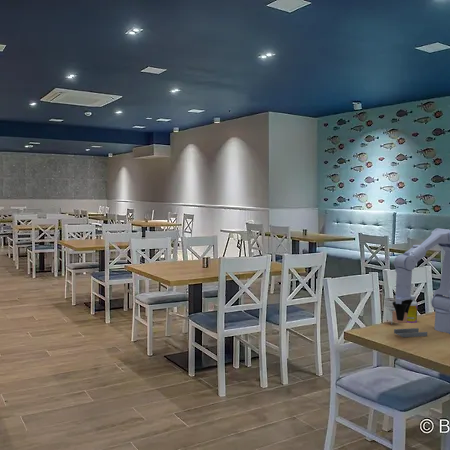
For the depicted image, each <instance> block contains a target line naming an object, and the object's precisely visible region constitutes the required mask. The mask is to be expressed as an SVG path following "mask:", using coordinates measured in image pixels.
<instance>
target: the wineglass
mask: <svg viewBox="0 0 450 450" xmlns="http://www.w3.org/2000/svg"><path fill="white" fill-rule="evenodd" d="M384 300H385V301H384V307H385V309H386V310H387V311H389V312H390V316H391V317H390V325H393V321H392V316H393V311H395V308H394V306H393V302H396V298H395V297H386V298H384Z"/></svg>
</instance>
